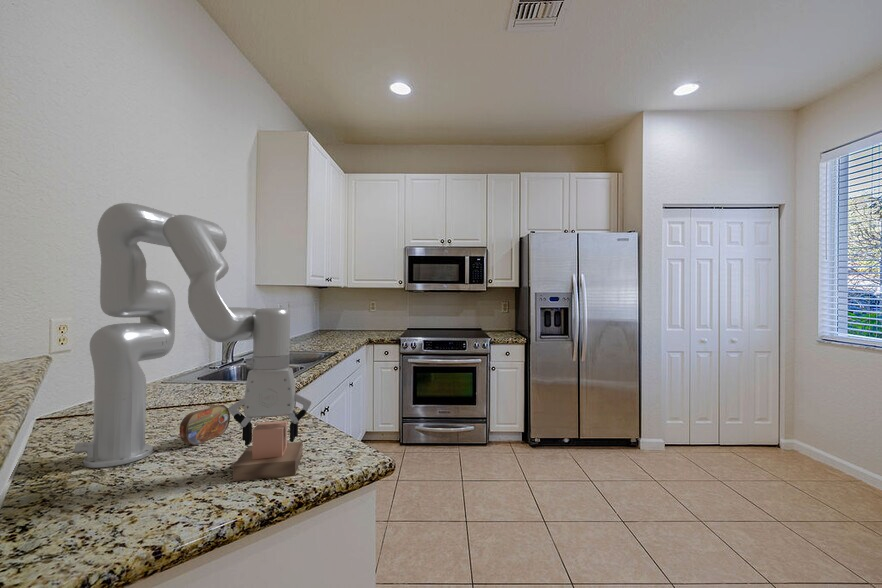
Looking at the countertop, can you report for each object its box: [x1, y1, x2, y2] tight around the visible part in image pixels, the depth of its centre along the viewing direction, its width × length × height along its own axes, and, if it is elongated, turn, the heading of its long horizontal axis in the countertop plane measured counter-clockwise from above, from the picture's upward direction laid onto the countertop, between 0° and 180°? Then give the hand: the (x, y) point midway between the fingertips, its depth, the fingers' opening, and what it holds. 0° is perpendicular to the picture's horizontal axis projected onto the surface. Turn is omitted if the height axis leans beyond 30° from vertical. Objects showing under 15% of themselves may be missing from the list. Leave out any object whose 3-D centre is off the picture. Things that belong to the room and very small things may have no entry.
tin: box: [179, 404, 231, 446], centre depth 105 cm, size 15×3×8 cm, turn 168°
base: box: [232, 441, 304, 482], centre depth 86 cm, size 12×12×3 cm
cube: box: [251, 420, 288, 459], centre depth 86 cm, size 6×6×6 cm
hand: (270, 441), depth 86 cm, fingers open, 8 cm apart
